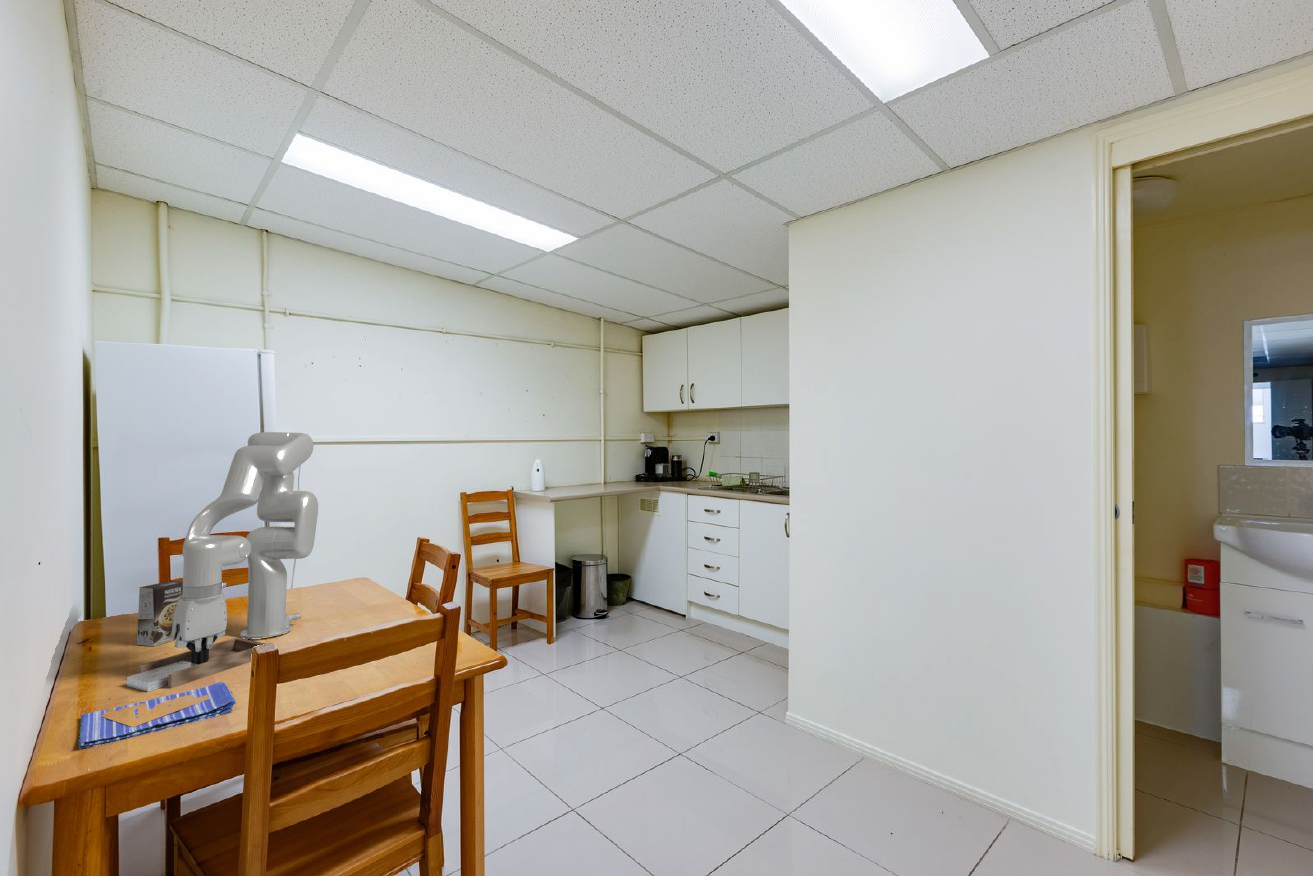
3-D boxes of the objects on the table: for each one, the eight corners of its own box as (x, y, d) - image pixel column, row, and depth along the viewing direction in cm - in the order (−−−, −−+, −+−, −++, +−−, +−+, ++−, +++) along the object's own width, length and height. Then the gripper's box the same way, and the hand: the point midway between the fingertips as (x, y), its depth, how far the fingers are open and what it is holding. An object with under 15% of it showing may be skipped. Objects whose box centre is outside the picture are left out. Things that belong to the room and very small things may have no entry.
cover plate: (181, 668, 139) (182, 660, 139) (202, 673, 136) (202, 665, 136) (126, 685, 129) (127, 677, 129) (147, 691, 126) (148, 682, 126)
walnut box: (236, 651, 154) (237, 637, 154) (268, 658, 149) (269, 644, 149) (137, 682, 133) (138, 665, 133) (171, 691, 128) (171, 674, 128)
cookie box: (154, 647, 156) (156, 588, 156) (135, 645, 157) (137, 586, 157) (187, 636, 165) (189, 580, 165) (170, 634, 166) (171, 579, 166)
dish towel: (237, 714, 120) (237, 700, 120) (76, 755, 103) (77, 739, 103) (225, 688, 132) (225, 676, 132) (80, 721, 115) (80, 707, 115)
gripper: (224, 583, 148) (222, 653, 148) (157, 596, 134) (154, 674, 134) (243, 586, 145) (241, 657, 145) (176, 600, 131) (174, 679, 131)
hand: (199, 665), depth 139 cm, fingers closed
